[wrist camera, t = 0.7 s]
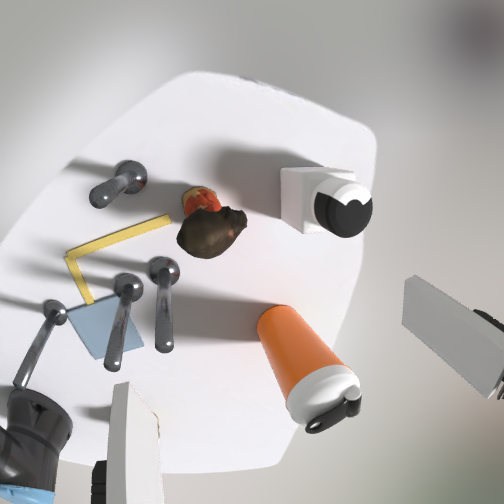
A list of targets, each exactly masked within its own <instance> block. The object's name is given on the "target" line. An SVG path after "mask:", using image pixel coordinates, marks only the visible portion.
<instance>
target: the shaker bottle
mask: <svg viewBox="0 0 504 504" xmlns="http://www.w3.org/2000/svg"><path fill="white" fill-rule="evenodd" d="M257 333H258V336H259V338H260V341H261V343H262V345H263V348H264V350H265V353H266V355H267V358H268V360H269V362H270V365H271V367H272V369H273V372H274V374H275V377H276V379H277V381H278V384H279V386H280V388H281V391H282V393H283V395H284V398H285V400H286V408H287V410H288V411H289V413H290V415H291V417H292V419H293V420H294V421H295V422H296V423H298V424H301V425H304V426H306V427H305V431H306V432H307V433H310V434H315V433H319V432H322V431H324V430H326V429H328V428H330V427H331V426H333V425H335V424H337V423H338V422H340V421H341V420H343V419H344V418H345V417H355V416H357V415H358V414H359V412H360V406H361V396H362V391H361V389H360V388H359V380H358V378H357V377H356V375H355V374H354V373H353V372H352V370H351V369H350V368H349V367H348V366H346V365H344V364H343V363H342V362H341V361H340V360H339V358H338V357H337V356H336V355H335V354H334V353H333V352H332V351H331V350H330V348H329V347H328V346H327V345H326V344H325V343H324V342H323V341H322V340H321V338H320V337H319V336H318V335H317V334H316V333H315V332H314V331H313V330H312V328H311V327H310V326H309V325H308V324H307V323H306V322H305V321H304V320H303V318H302V317H301V316H300V315H299V314H298V313H297V312H296V311H295V310H294V309H293V308H291V307H289V306H284V305H281V306H275V307H273V308H270V309H269V310H267V311H266V312H265V313H264V314H263V315H262V316H261V317H260V319H259V321H258V323H257Z"/></svg>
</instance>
